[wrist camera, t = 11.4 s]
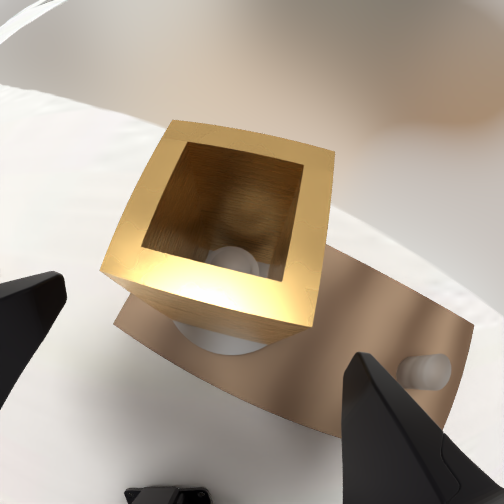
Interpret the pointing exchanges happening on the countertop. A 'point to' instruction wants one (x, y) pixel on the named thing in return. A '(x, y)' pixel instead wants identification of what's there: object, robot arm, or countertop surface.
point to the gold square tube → (227, 230)
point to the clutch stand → (320, 344)
